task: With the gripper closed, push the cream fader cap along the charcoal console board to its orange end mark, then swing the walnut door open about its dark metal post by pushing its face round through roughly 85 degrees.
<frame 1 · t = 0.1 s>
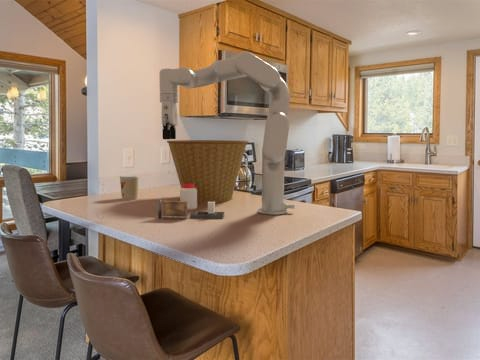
hand: (169, 139, 166), 31 cm above the table, fingers open, 9 cm apart
basket: (208, 198, 202), on the table
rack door: (174, 208, 152), point 4 cm above the table, hinge at 0.0°
coffee cup: (129, 199, 198), on the table
pill bottle: (188, 208, 175), on the table
fader cap: (211, 207, 156), point 4 cm above the table, slide at -1.5 cm
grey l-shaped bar: (159, 218, 153), on the table
console board: (207, 216, 157), on the table
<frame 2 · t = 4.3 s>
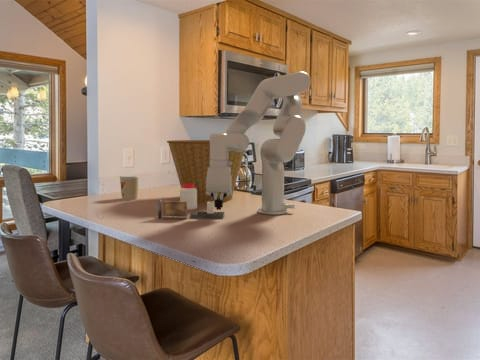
hand: (218, 209, 156), 3 cm above the table, fingers closed
fader cap: (210, 207, 156), point 4 cm above the table, slide at -1.1 cm, touching gripper
everything else where it was.
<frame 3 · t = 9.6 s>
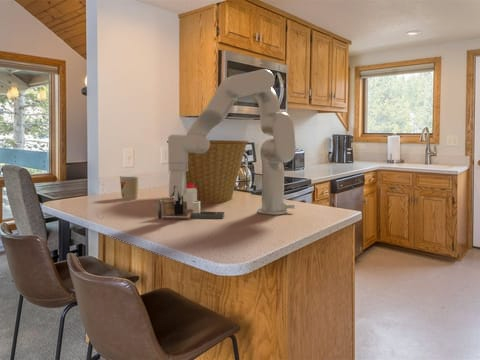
hand: (179, 214, 149), 3 cm above the table, fingers closed
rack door: (174, 208, 152), point 4 cm above the table, hinge at 1.3°, touching gripper
fader cap: (196, 206, 156), point 4 cm above the table, slide at 4.6 cm
everything else where it was.
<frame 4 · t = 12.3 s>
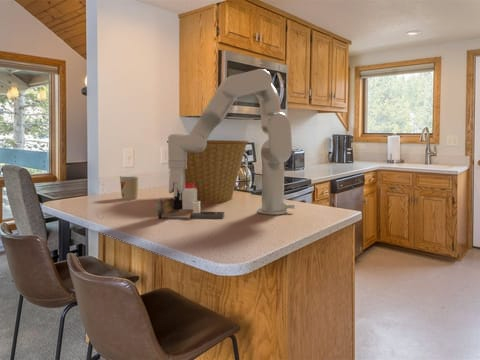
hand: (178, 209, 157), 3 cm above the table, fingers closed
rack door: (170, 206, 157), point 4 cm above the table, hinge at 60.1°, touching gripper
everything else where it was.
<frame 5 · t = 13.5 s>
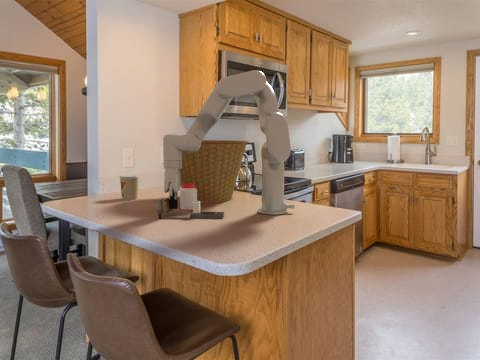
hand: (173, 208, 160), 3 cm above the table, fingers closed
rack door: (166, 205, 158), point 4 cm above the table, hinge at 78.8°, touching gripper
everything else where it was.
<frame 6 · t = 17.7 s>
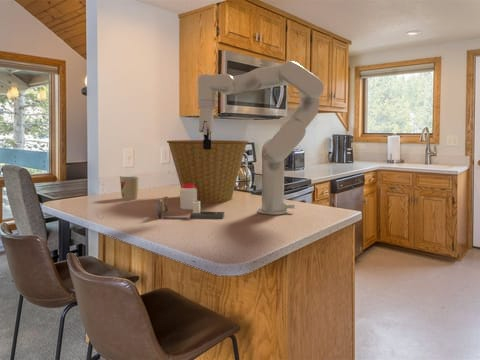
hand: (207, 149, 162), 27 cm above the table, fingers closed
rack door: (163, 205, 159), point 4 cm above the table, hinge at 90.4°
everything else where it was.
at the end: fader cap slide at 4.6 cm; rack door at +90° (first picture: +0°) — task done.
